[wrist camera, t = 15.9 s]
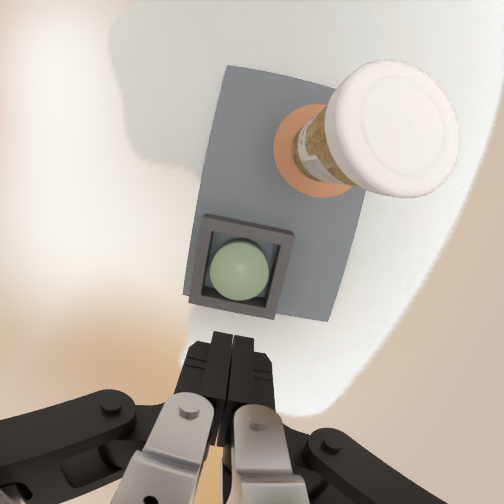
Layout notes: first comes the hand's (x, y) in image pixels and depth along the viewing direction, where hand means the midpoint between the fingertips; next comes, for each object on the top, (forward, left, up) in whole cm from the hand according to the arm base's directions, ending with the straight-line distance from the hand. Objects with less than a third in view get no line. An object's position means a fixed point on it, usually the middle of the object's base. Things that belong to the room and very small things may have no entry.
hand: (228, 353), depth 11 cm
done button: (0, 0, -12) cm, 12 cm away
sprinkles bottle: (-9, +4, -12) cm, 16 cm away
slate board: (-5, +2, -13) cm, 14 cm away
